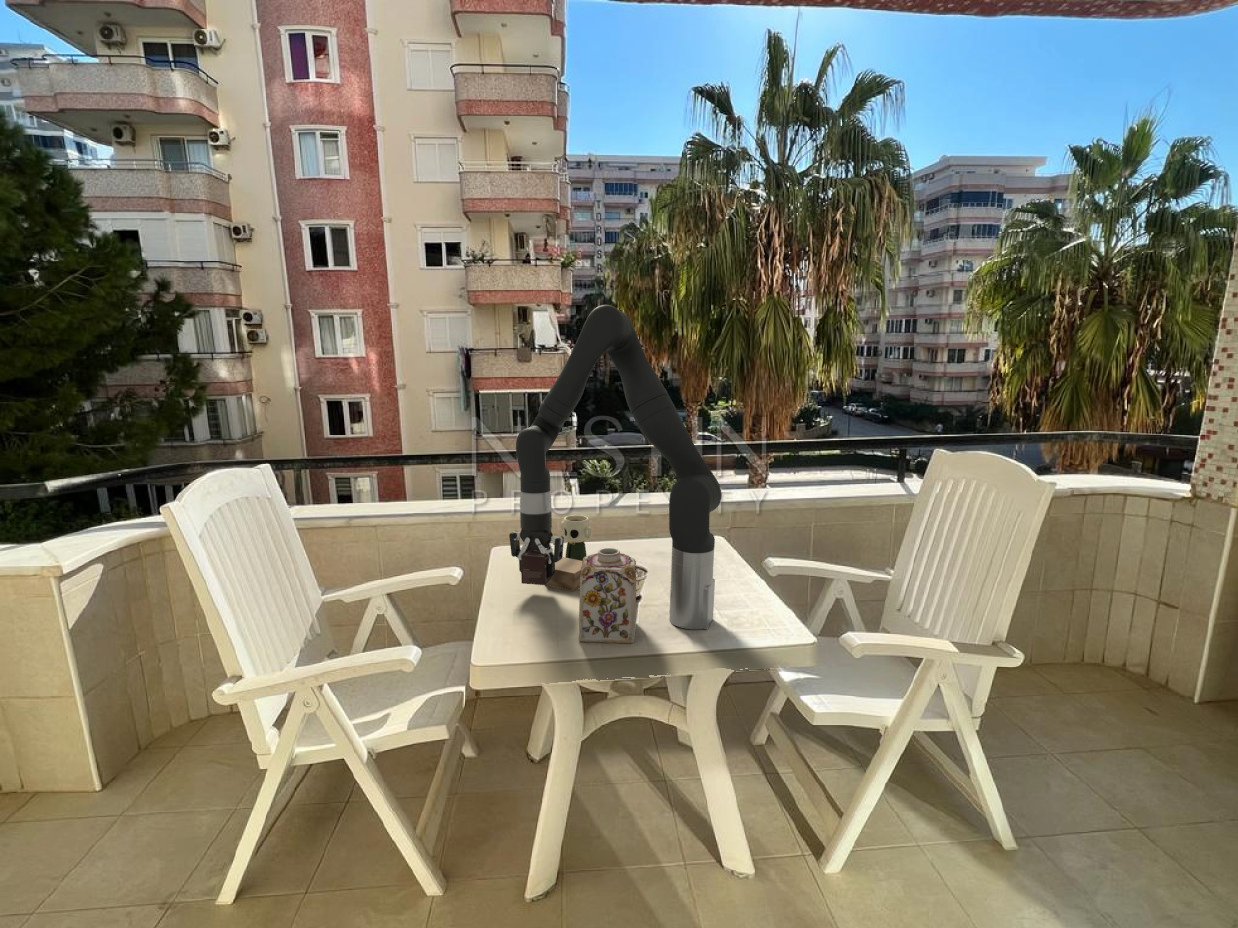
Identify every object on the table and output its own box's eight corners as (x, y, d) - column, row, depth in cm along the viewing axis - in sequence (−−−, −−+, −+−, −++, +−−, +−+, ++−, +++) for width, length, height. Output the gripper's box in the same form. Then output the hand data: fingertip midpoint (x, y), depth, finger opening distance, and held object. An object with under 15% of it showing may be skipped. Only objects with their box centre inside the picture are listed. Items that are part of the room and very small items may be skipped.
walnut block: (592, 580, 156) (592, 562, 156) (574, 592, 149) (574, 573, 148) (563, 574, 160) (563, 557, 160) (544, 585, 153) (544, 567, 152)
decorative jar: (635, 644, 121) (637, 560, 118) (578, 643, 121) (578, 559, 118) (634, 619, 133) (636, 542, 130) (582, 618, 133) (583, 541, 130)
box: (544, 586, 142) (544, 556, 141) (520, 584, 143) (520, 554, 142) (552, 577, 148) (552, 549, 147) (529, 575, 149) (529, 547, 148)
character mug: (553, 561, 170) (553, 517, 168) (569, 555, 176) (569, 512, 174) (583, 569, 164) (583, 524, 162) (598, 562, 170) (599, 518, 168)
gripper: (569, 508, 144) (570, 574, 146) (517, 503, 149) (519, 567, 151) (555, 515, 137) (556, 584, 139) (501, 509, 142) (503, 576, 144)
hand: (537, 575), depth 145 cm, fingers closed on box, 6 cm apart
